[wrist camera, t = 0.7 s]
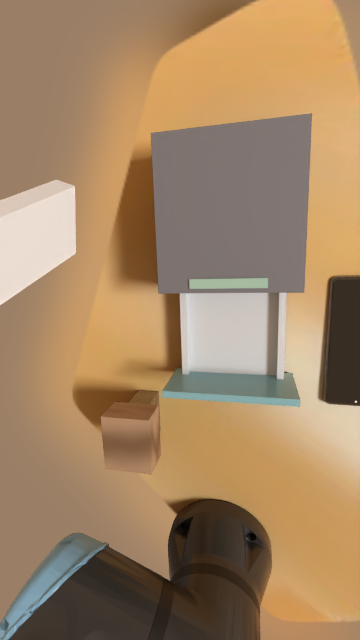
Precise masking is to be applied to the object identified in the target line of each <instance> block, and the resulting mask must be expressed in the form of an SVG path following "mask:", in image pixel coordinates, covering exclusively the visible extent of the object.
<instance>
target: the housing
mask: <svg viewBox="0 0 360 640" xmlns="http://www.w3.org/2000/svg"><path fill="white" fill-rule="evenodd" d="M311 122H312V113H311V114H303V115H295V116H287V117H279V118H270V119H262V120H254V121H246V122H238V123H229V124H221V125H213V126H205V127H197V128H188V129H180V130H172V131H164V132H156V133H151V146H152V167H153V188H154V209H155V230H156V251H157V272H158V292H159V294H165V293H304V286H305V263H306V239H307V216H308V193H309V169H310V146H311Z"/></svg>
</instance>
